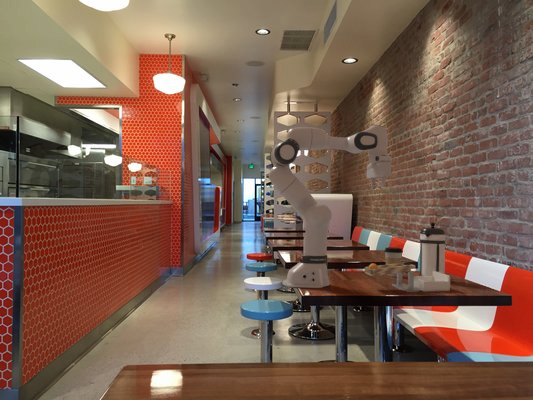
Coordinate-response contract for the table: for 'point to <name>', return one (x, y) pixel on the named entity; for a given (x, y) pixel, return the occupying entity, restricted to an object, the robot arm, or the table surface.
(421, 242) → the coffee press
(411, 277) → the lever stand
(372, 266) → the ball
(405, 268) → the lever ramp
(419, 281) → the dish
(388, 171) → the robot arm
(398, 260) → the coffee cup
